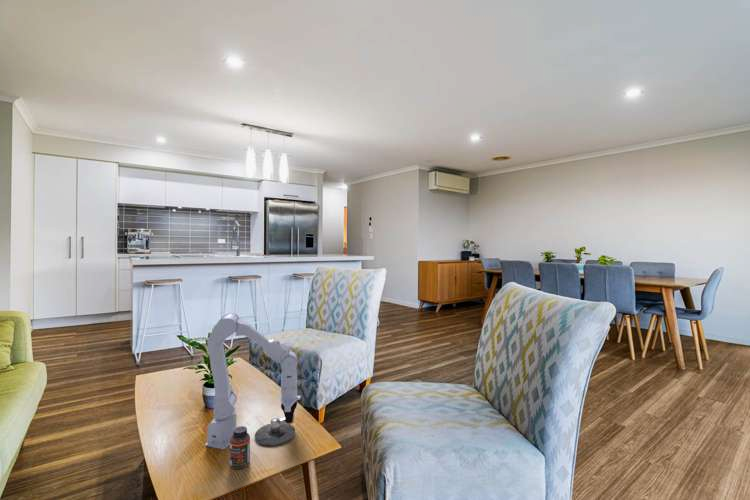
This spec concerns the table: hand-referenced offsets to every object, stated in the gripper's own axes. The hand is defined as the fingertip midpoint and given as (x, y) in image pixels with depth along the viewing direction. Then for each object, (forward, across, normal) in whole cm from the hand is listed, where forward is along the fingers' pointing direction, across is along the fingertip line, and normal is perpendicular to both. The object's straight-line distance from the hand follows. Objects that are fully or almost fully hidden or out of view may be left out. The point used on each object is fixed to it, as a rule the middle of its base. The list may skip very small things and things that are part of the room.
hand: (289, 422), depth 131 cm
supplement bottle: (+4, -17, +14) cm, 22 cm away
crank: (+3, 0, +3) cm, 4 cm away
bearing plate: (+4, -1, +5) cm, 6 cm away
